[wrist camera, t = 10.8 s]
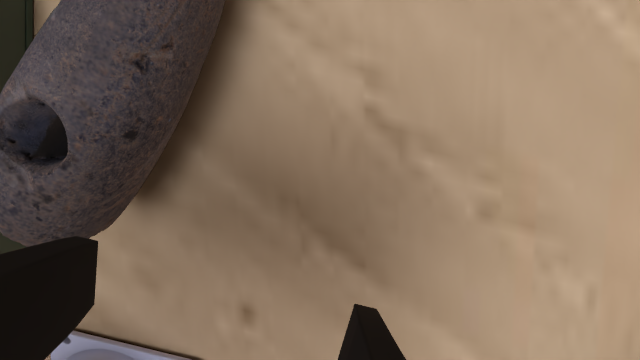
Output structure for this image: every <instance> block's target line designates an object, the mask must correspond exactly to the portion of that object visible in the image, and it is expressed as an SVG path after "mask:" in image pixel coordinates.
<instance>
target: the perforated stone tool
mask: <svg viewBox="0 0 640 360" xmlns="http://www.w3.org/2000/svg"><path fill="white" fill-rule="evenodd" d="M224 3H225V0H61V1H60V3H59V4H58V6H57V7H56V8H55V9H54V10H53V11H52V13H51V14H50V16H49V17H48V18H47V20H46V22H45V23H44V24H43V26H42V28H41V29H40V30H39V32H38V33H37V35H36V36H35V38H34V39H33V41H32V42H31V44H30V45H29V47H28V49H27V50H26V52H25V54H24V55H23V57H22V58H21V60H20V62H19V63H18V65H17V67H16V68H15V70H14V72H13V73H12V75H11V76H10V78H9V79H8V81H7V83H6V84H5V86H4V87H3V89H2V91H1V94H0V232H1V233H2V235H3V236H6V237H8V238H9V239H10V240H13V241H15V242H19V243H21V244H22V245H25V246H26V247H30V246H33V245H37V244H41V243H45V242H49V241H54V240H58V239H62V238H67V237H73V236H79V237H83V238H87V239H89V238H90V237H91V236H95V235H96V234H98V233H100V232H101V231H103V230H105V229H106V228H108V227H109V226H110V225H112V224H113V222H114V221H115V220H116V219H117V218H118V217H119V216H120V215H121V213H122V212H123V211H124V210H125V208H126V207H127V206H128V204H129V203H130V202H131V200H132V199H133V198H134V196H135V195H136V194H137V192H138V191H139V189H140V188H141V186H142V185H143V183H144V181H145V180H146V179H147V177H148V175H149V174H150V172H151V171H152V169H153V167H154V166H155V164H156V162H157V161H158V159H159V157H160V155H161V154H162V152H163V150H164V149H165V147H166V145H167V143H168V141H169V139H170V138H171V136H172V134H173V132H174V131H175V128H176V126H177V124H178V122H179V120H180V118H181V116H182V114H183V112H184V110H185V108H186V106H187V103H188V101H189V98H190V96H191V93H192V91H193V89H194V87H195V84H196V82H197V79H198V76H199V73H200V71H201V69H202V66H203V63H204V61H205V59H206V56H207V54H208V52H209V49H210V46H211V44H212V41H213V39H214V36H215V33H216V30H217V27H218V24H219V21H220V18H221V15H222V11H223V7H224Z"/></svg>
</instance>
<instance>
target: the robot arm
mask: <svg viewBox="0 0 640 360" xmlns="http://www.w3.org/2000/svg"><path fill="white" fill-rule="evenodd" d="M97 251H98V241H95V240H91V239H87V238H83V237H79V236H73V237H67V238H62V239H58V240H54V241H49V242H45V243H41V244H37V245H33V246H30V247H26V248H22V249H18V250H14V251H10V252H6V253H3V254H0V360H44V359H45V358H46V357H47V356H49V355H50V354H51V360H192V359H188V358H184V357H180V356H176V355H172V354H167V353H163V352H159V351H155V350H151V349H147V348H143V347H139V346H135V345H130V344H126V343H122V342H118V341H114V340H110V339H106V338H102V337H98V336H93V335H89V334H85V333H81V332H77V331H73V330H74V329H75V327H76V326H77V325H78V324H79V323H80V322H81V320H82V319H83V318H84V317H85V315H86V314H87V313H88V311H89V310H90V309H91V308H92V306H93V305H94V299H95V283H96V267H97ZM338 360H406V359H405V357H404V356H403V354H402V352H401V351H400V349H399V347H398V346H397V344H396V342H395V340H394V339H393V337H392V335H391V333H390V332H389V330H388V328H387V326H386V325H385V323H384V321H383V319H382V318H381V316H380V314H379V312H378V311H377V309H374V308H370V307H366V306H362V305H358V304H354V308H353V311H352V314H351V318H350V321H349V324H348V327H347V331H346V334H345V337H344V341H343V344H342V347H341V350H340V354H339V357H338Z"/></svg>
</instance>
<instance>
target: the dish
mask: <svg viewBox="0 0 640 360" xmlns="http://www.w3.org/2000/svg"><path fill="white" fill-rule="evenodd" d="M32 41H33V0H0V94H1V91H2V89H3V87H4V86H5V84H6V83H7V81H8V79H9V78H10V76H11V75H12V73H13V72H14V70H15V68H16V67H17V65H18V63H19V62H20V60H21V58H22V57H23V55H24V54H25V52H26V50H27V49H28V47H29V45H30V44H31V42H32ZM22 248H26V246H25V245H22V244H21V243H19V242H15V241H13V240H10V239H9V238H8V237H6V236H3V235H2V233H1V232H0V254H3V253H6V252H10V251H14V250H18V249H22Z"/></svg>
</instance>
